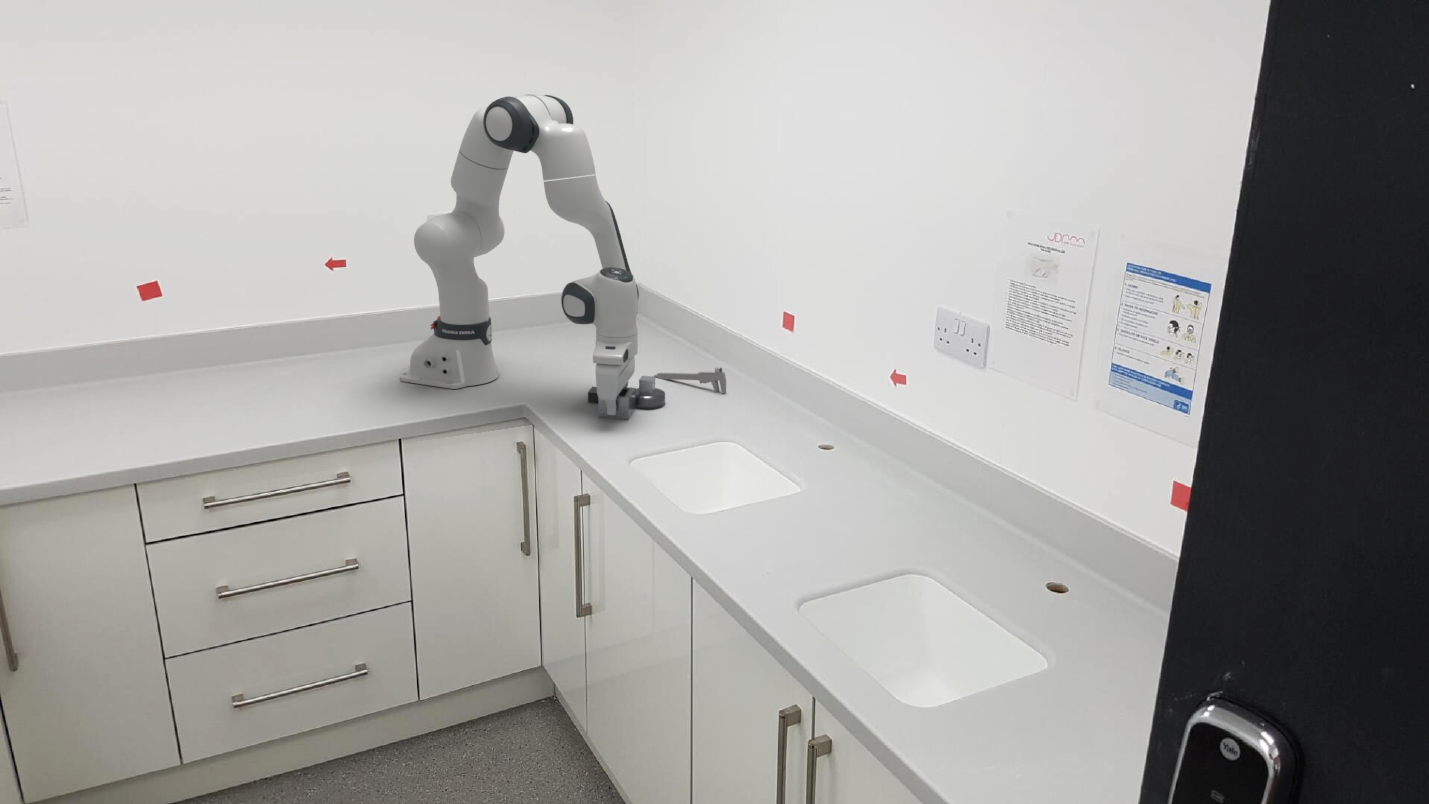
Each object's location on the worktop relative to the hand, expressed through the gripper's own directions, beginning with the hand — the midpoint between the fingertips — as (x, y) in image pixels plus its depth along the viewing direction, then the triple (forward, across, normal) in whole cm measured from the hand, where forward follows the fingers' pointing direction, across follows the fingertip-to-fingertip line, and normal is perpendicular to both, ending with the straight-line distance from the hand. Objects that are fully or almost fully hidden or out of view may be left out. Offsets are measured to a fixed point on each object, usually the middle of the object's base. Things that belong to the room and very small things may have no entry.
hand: (617, 406), depth 237 cm
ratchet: (+2, -8, 0) cm, 8 cm away
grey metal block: (+2, 0, 0) cm, 2 cm away
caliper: (+2, -23, +12) cm, 26 cm away
